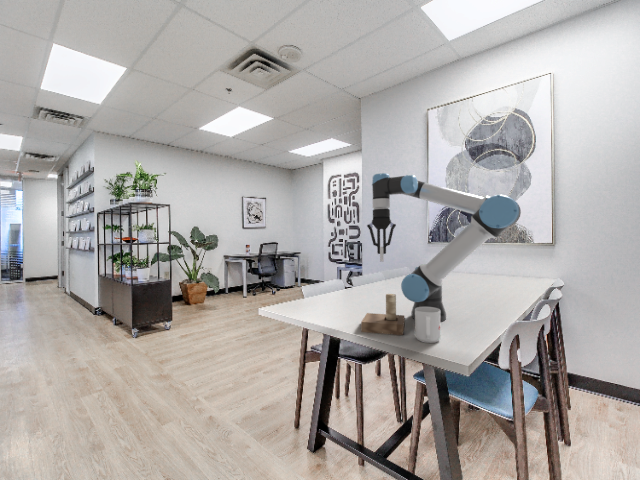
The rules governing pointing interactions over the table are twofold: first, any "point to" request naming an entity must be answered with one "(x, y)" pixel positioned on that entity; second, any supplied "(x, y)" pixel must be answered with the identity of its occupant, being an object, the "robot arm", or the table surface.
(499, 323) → the table surface
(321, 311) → the table surface
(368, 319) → the board
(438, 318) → the mug
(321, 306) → the table surface
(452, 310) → the table surface
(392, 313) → the peg
